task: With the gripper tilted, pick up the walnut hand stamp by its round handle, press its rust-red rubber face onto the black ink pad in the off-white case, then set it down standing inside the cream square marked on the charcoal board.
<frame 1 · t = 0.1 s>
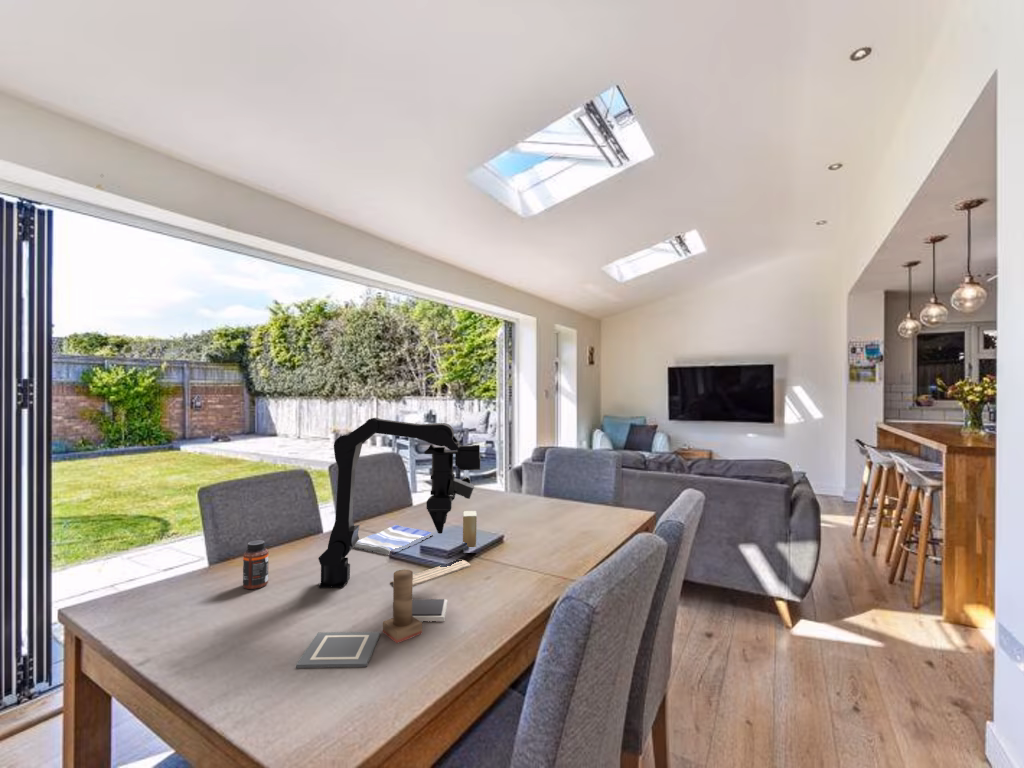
hand: (441, 528, 132), 15 cm above the table, tool pointing down, fingers open, 9 cm apart
skincare box: (469, 551, 158), on the table
ink pad: (426, 612, 115), on the table
newspaper: (431, 577, 138), on the table
dish towel: (393, 543, 166), on the table
stamp: (402, 632, 105), on the table
form board: (340, 650, 98), on the table
supplement bottle: (255, 586, 129), on the table
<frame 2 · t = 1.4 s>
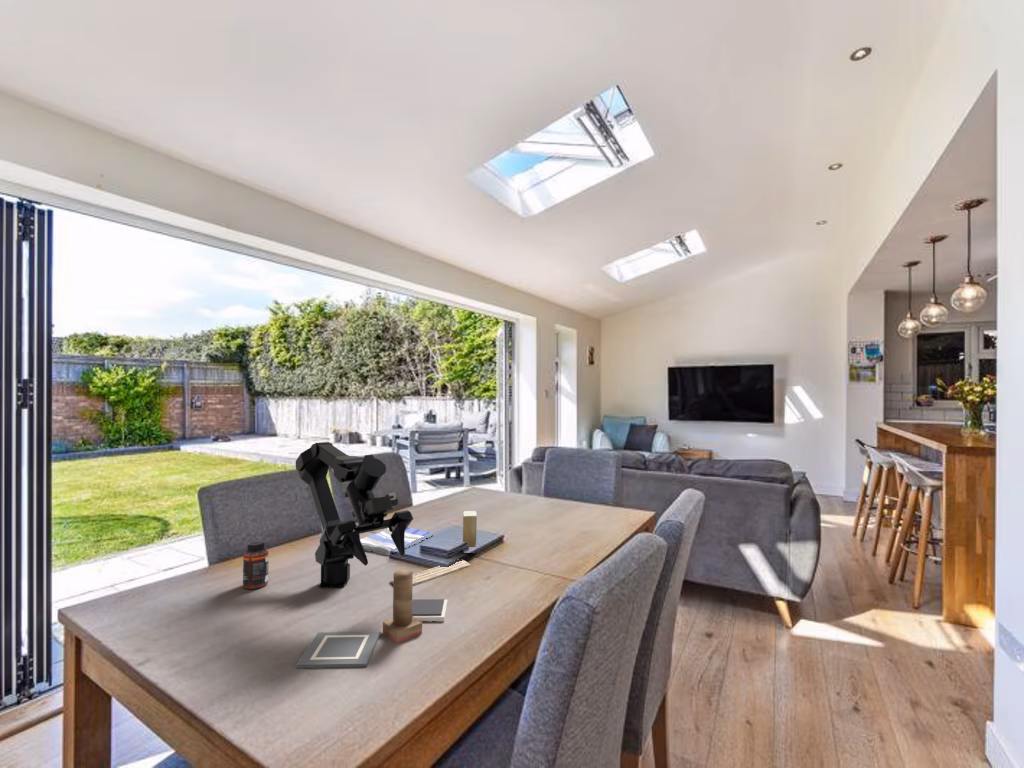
hand: (385, 559, 112), 13 cm above the table, tool tilted 45°, fingers open, 9 cm apart
nothing on the table moved.
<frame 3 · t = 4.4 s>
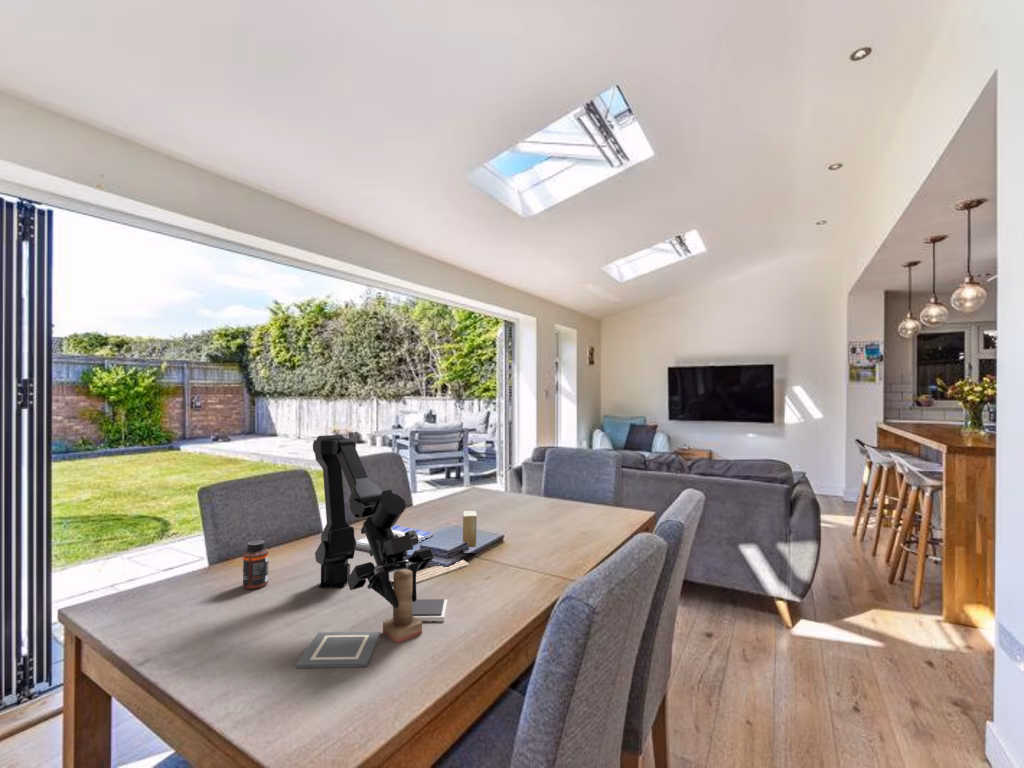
hand: (406, 603, 104), 7 cm above the table, tool tilted 45°, fingers closed on stamp, 4 cm apart
stamp: (402, 632, 105), on the table, touching gripper
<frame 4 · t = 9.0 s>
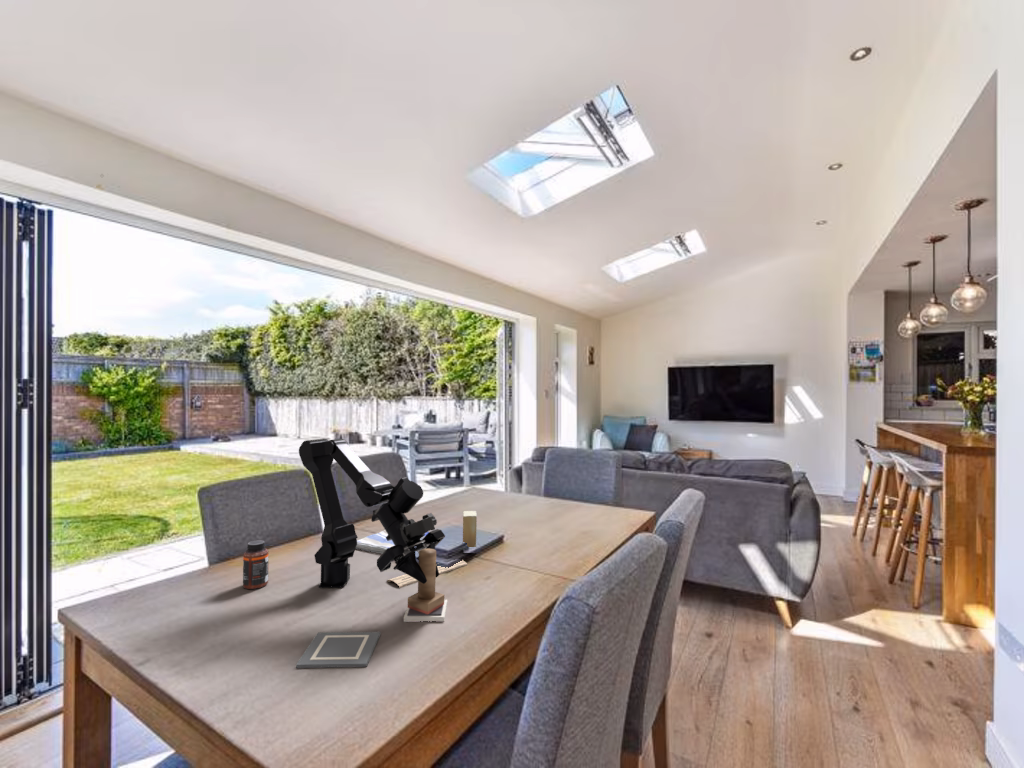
hand: (431, 579, 114), 8 cm above the table, tool tilted 45°, fingers closed on stamp, 4 cm apart
stamp: (426, 605, 115), point 1 cm above the table, touching gripper
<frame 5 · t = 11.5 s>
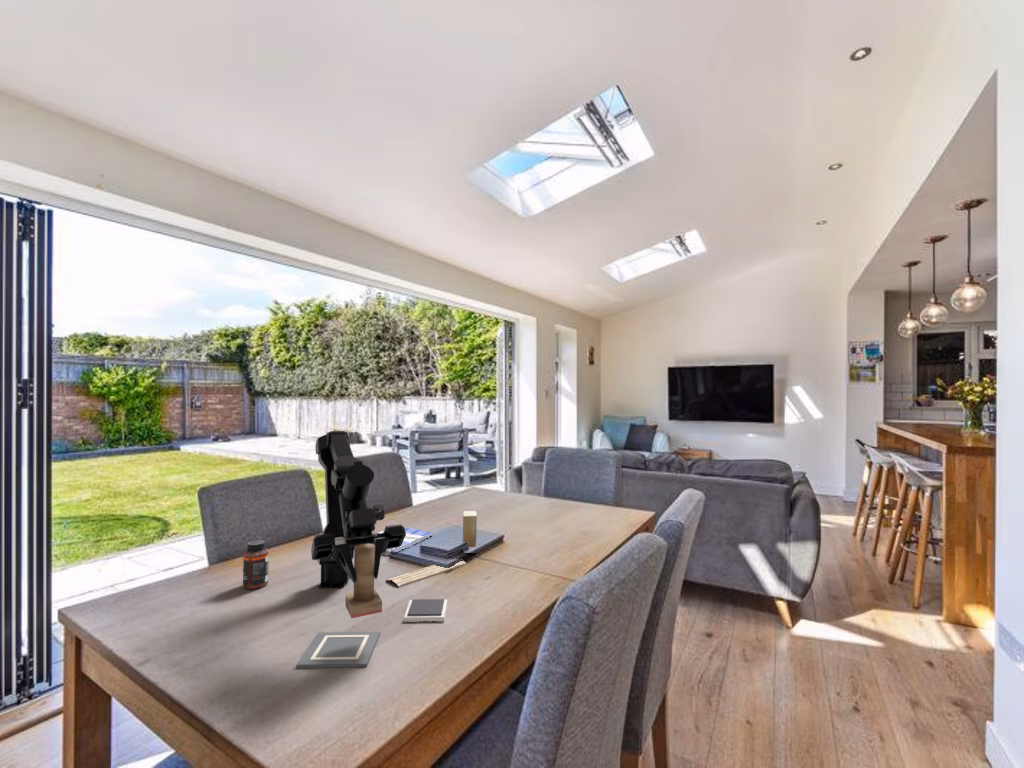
hand: (365, 579, 100), 14 cm above the table, tool tilted 45°, fingers closed on stamp, 4 cm apart
stamp: (363, 608, 101), point 7 cm above the table, touching gripper
when the fingers open (8 cm above the table, at t = 13.6 s): stamp drops 1 cm, resting on form board.
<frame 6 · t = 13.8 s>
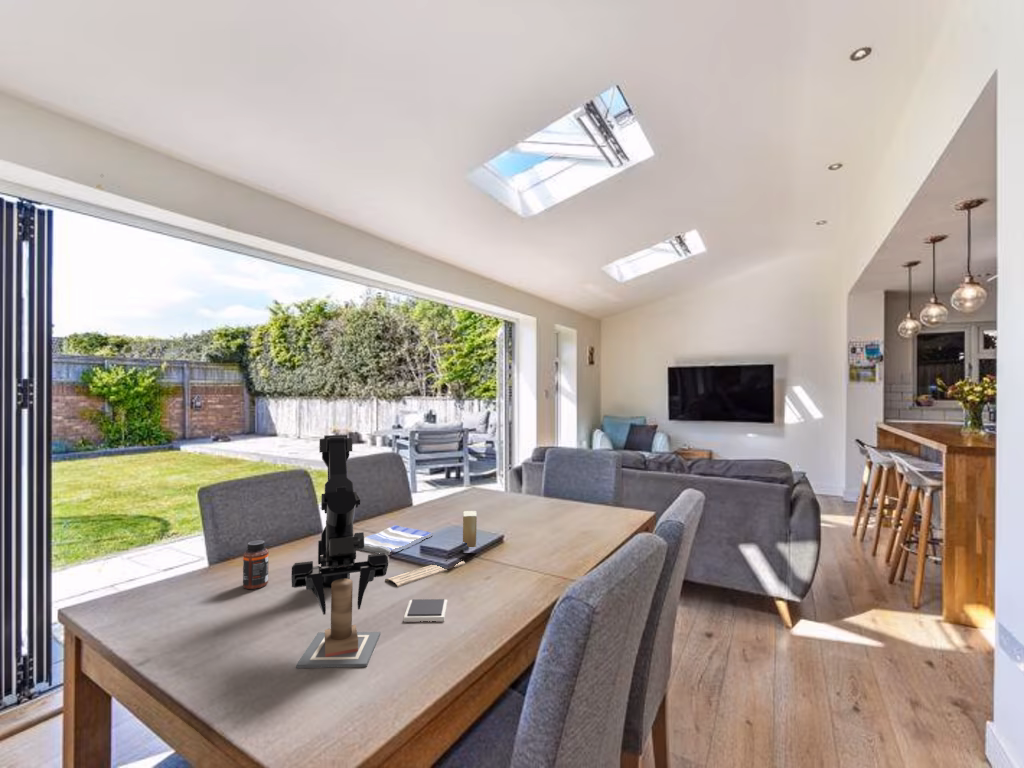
hand: (342, 611, 97), 8 cm above the table, tool tilted 45°, fingers open, 6 cm apart
stamp: (341, 645, 98), point 1 cm above the table, touching form board
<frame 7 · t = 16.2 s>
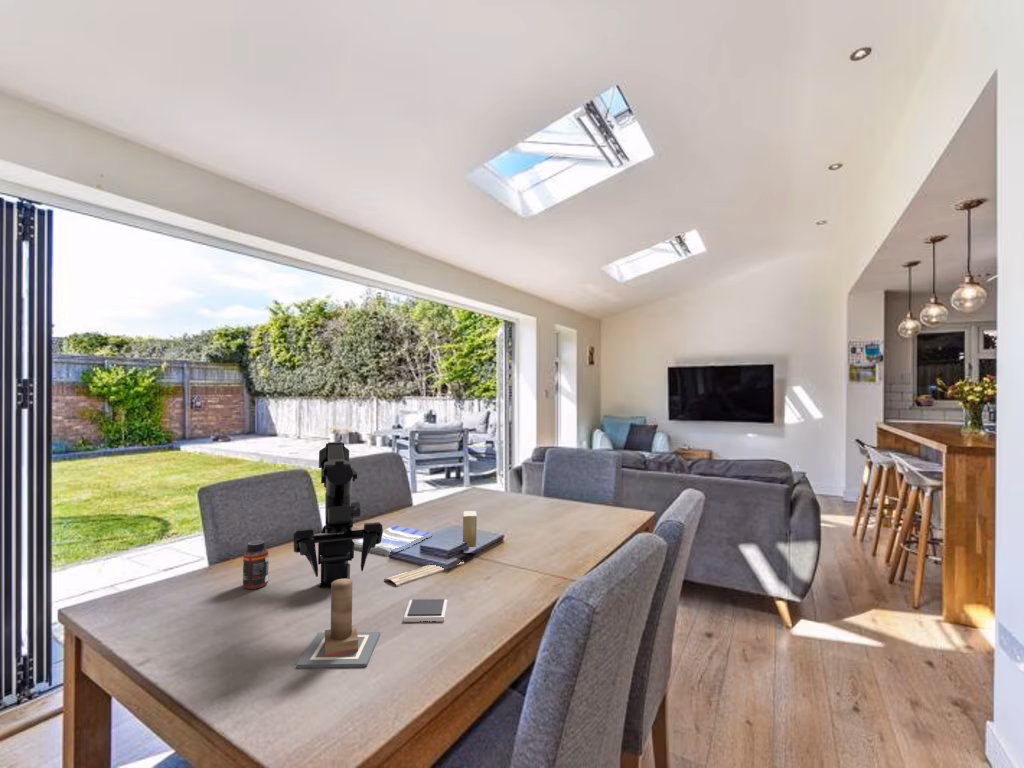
hand: (339, 573, 106), 12 cm above the table, tool tilted 45°, fingers open, 9 cm apart
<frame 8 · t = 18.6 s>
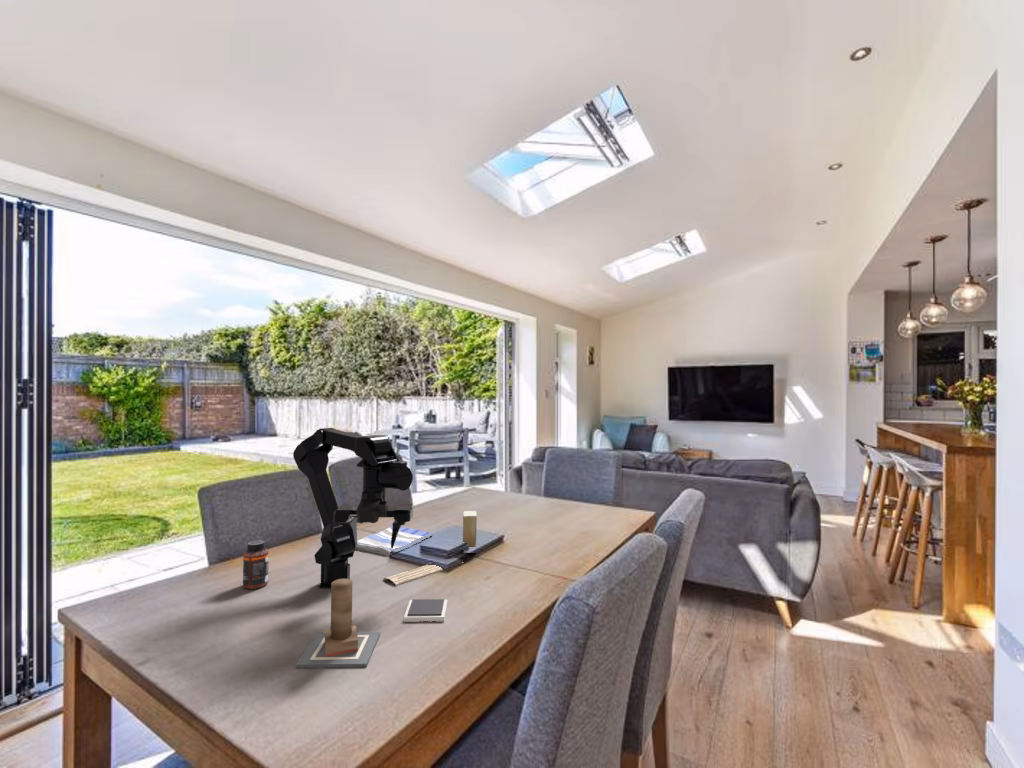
hand: (373, 547, 124), 12 cm above the table, tool pointing down, fingers open, 9 cm apart
at the end: stamp 0.2 cm off-centre on the form board, point 0.7 cm above the form board's base; stamp tilted 1°; the gripper is holding nothing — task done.
